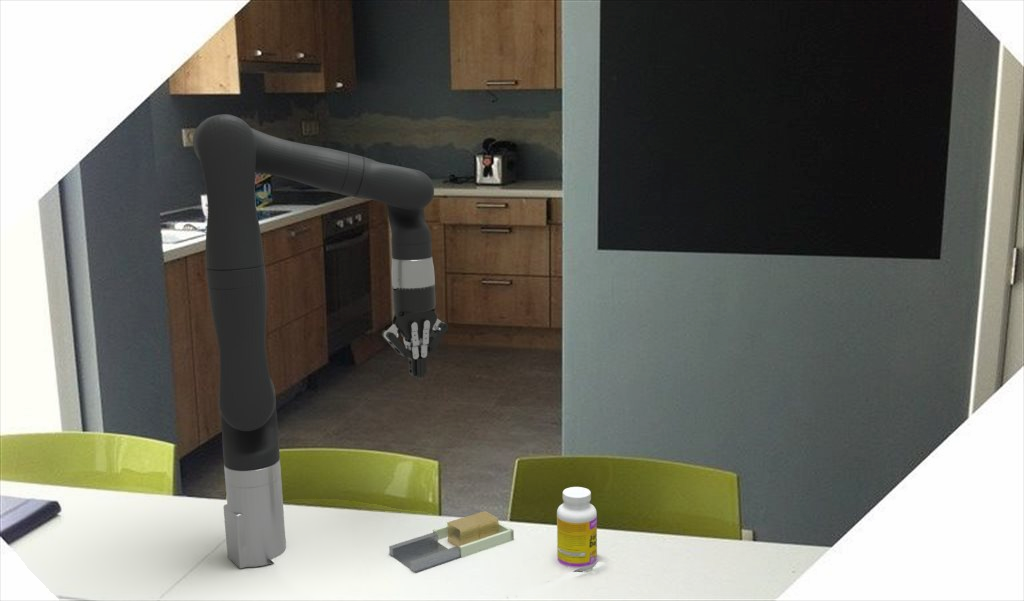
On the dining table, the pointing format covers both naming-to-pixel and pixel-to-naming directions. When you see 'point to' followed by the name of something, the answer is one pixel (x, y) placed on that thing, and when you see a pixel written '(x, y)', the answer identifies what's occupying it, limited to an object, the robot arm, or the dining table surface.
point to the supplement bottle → (577, 530)
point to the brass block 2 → (486, 524)
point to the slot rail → (423, 553)
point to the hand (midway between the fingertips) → (417, 377)
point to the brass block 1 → (463, 531)
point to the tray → (481, 540)
